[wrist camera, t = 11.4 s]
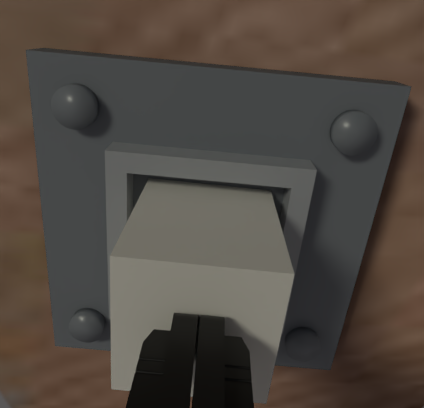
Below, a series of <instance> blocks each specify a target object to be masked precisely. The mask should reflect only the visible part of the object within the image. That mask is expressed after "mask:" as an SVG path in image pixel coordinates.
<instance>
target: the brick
mask: <svg viewBox="0 0 424 408" xmlns="http://www.w3.org/2000/svg"><path fill="white" fill-rule="evenodd" d="M293 279H294V270H293V267H292V263H291V260H290V256H289V253H288V249H287V246H286V242H285V239H284V235H283V232H282V228H281V225H280V221H279V218H278V214H277V211H276V207H275V204H274V200H273V197H272V193H271V190H261V189H251V188H241V187H232V186H222V185H212V184H202V183H192V182H182V181H172V180H162V179H152V178H149V179H148V181H147V183H146V185H145V187H144V189H143V191H142V193H141V195H140V197H139V199H138V201H137V203H136V205H135V207H134V209H133V211H132V213H131V215H130V217H129V219H128V221H127V223H126V225H125V227H124V229H123V231H122V233H121V235H120V237H119V239H118V241H117V243H116V245H115V247H114V249H113V251H112V253H111V255H110V320H111V389H115V390H126V391H130V390H131V386H132V382H133V378H134V374H135V371H136V367H137V363H138V360H139V355H140V351H141V348H142V344H143V341H144V340H145V339H146V338H147V337H148V335H149V334H150V333H151V332H152V331H153V329H157V330H168V331H170V330H171V325H172V319H173V314H174V313H184V314H195V315H198V321H197V332H196V343H195V354H194V365H193V376H192V386H191V397H193V388H194V377H195V365H196V355H197V344H198V333H199V323H200V315H208V316H219V317H224V318H225V336H236V337H242V339H243V341H244V343H245V344H246V346H247V348H248V349H249V351H250V364H251V377H252V390H253V402H254V403H265V404H266V402H267V398H268V393H269V389H270V384H271V380H272V375H273V370H274V366H275V361H276V357H277V352H278V348H279V343H280V338H281V334H282V329H283V325H284V320H285V316H286V311H287V306H288V302H289V297H290V293H291V288H292V284H293Z"/></svg>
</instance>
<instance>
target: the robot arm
mask: <svg viewBox="0 0 424 408" xmlns="http://www.w3.org/2000/svg"><path fill="white" fill-rule="evenodd" d="M197 321H198V315H195V314H184V313H174V314H173V319H172V325H171V330H170V331H168V330H157V329H153V331H152V332H151V333H150V334H149V335H148V337H147V338H146V339H145V340H144V341H143V344H142V348H141V351H140V355H139V360H138V363H137V367H136V371H135V374H134V378H133V382H132V386H131V390H130V393H129V397H128V401H127V405H126V408H190V397H191V386H192V376H193V365H194V354H195V343H196V332H197ZM192 408H254V403H253V390H252V377H251V364H250V351H249V349H248V348H247V346H246V344H245V343H244V341H243V339H242V337H236V336H225V318H224V317H219V316H208V315H200V323H199V333H198V344H197V355H196V365H195V377H194V388H193V399H192Z"/></svg>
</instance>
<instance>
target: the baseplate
mask: <svg viewBox="0 0 424 408" xmlns="http://www.w3.org/2000/svg"><path fill="white" fill-rule="evenodd" d="M26 56H27V66H28V76H29V86H30V96H31V106H32V116H33V127H34V137H35V147H36V157H37V167H38V177H39V187H40V197H41V207H42V217H43V227H44V237H45V247H46V257H47V268H48V278H49V288H50V298H51V308H52V318H53V328H54V338H55V346H62V347H73V348H85V349H96V350H107V351H111V320H110V255H111V253H112V251H113V249H114V247H115V245H116V243H117V241H118V239H119V237H120V235H121V233H122V231H123V229H124V227H125V225H126V223H127V221H128V219H129V217H130V215H131V213H132V211H133V209H134V207H135V205H136V203H137V201H138V199H139V197H140V195H141V193H142V191H143V189H144V187H145V185H146V183H147V181H148V179H149V178H152V179H162V180H172V181H182V182H192V183H202V184H212V185H222V186H232V187H241V188H251V189H261V190H271V193H272V197H273V200H274V204H275V207H276V211H277V214H278V218H279V221H280V225H281V228H282V232H283V235H284V239H285V242H286V246H287V249H288V253H289V256H290V260H291V263H292V267H293V270H294V279H293V284H292V288H291V293H290V297H289V302H288V306H287V311H286V316H285V320H284V325H283V329H282V334H281V338H280V343H279V348H278V352H277V357H276V361H275V365H278V366H289V367H300V368H312V369H323V370H330V369H331V366H332V362H333V359H334V355H335V352H336V348H337V345H338V341H339V338H340V334H341V331H342V328H343V324H344V321H345V317H346V314H347V310H348V307H349V303H350V300H351V296H352V293H353V289H354V286H355V282H356V279H357V275H358V272H359V268H360V265H361V261H362V258H363V254H364V251H365V247H366V244H367V240H368V237H369V233H370V230H371V226H372V223H373V219H374V216H375V212H376V209H377V205H378V202H379V198H380V195H381V191H382V188H383V184H384V181H385V177H386V174H387V170H388V167H389V163H390V160H391V156H392V153H393V149H394V146H395V142H396V139H397V135H398V132H399V128H400V125H401V121H402V118H403V114H404V111H405V107H406V104H407V100H408V97H409V93H410V90H411V86H408V85H405V84H401V83H398V82H395V81H384V80H374V79H363V78H353V77H342V76H332V75H321V74H311V73H300V72H290V71H279V70H269V69H258V68H248V67H237V66H227V65H216V64H206V63H195V62H185V61H175V60H164V59H154V58H143V57H133V56H122V55H112V54H101V53H91V52H80V51H70V50H59V49H49V48H39V49H30V50H26Z"/></svg>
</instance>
